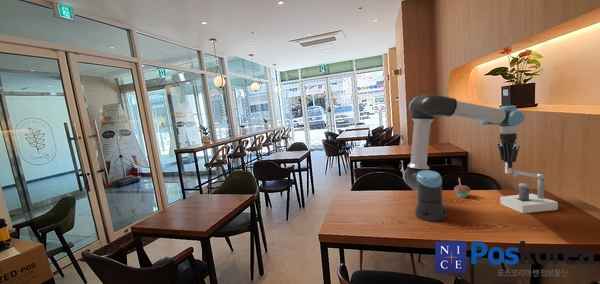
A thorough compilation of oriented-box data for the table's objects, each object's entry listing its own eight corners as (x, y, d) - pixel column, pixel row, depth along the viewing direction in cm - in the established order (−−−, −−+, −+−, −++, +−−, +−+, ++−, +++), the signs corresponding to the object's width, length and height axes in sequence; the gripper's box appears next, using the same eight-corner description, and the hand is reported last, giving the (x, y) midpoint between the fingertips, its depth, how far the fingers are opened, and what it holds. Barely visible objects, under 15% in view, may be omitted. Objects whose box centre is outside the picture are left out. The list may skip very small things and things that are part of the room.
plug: (523, 208, 134) (523, 185, 132) (516, 205, 138) (516, 183, 136) (531, 207, 134) (531, 184, 132) (524, 205, 138) (524, 182, 136)
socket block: (522, 213, 129) (522, 185, 127) (500, 203, 143) (500, 177, 141) (557, 209, 129) (558, 181, 127) (531, 200, 143) (532, 174, 141)
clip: (512, 176, 146) (512, 170, 146) (516, 175, 147) (516, 169, 147) (542, 182, 132) (542, 175, 132) (546, 181, 133) (546, 174, 133)
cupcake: (451, 196, 160) (450, 177, 159) (459, 193, 164) (459, 175, 163) (465, 199, 153) (464, 180, 151) (473, 196, 156) (473, 177, 155)
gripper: (524, 133, 139) (524, 175, 141) (505, 131, 152) (505, 169, 154) (511, 134, 139) (511, 176, 141) (492, 132, 152) (493, 171, 154)
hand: (508, 173), depth 148 cm, fingers closed
